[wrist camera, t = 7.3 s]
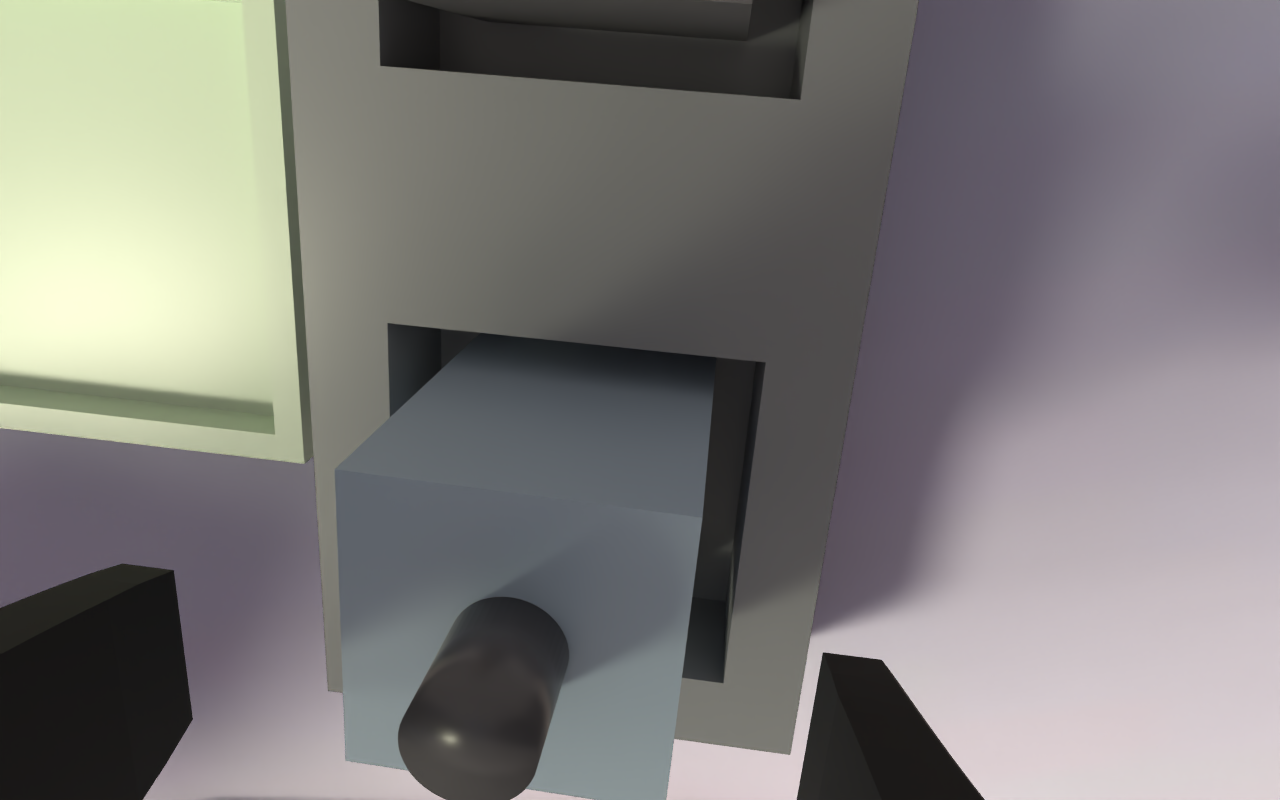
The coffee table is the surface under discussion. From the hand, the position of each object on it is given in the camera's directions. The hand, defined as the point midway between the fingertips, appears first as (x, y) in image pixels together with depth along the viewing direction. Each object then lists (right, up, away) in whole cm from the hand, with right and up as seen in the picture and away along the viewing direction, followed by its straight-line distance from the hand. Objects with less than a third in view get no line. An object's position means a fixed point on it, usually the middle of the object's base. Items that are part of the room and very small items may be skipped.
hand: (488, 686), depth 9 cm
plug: (+1, +2, +6) cm, 7 cm away
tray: (-8, +7, +6) cm, 12 cm away
